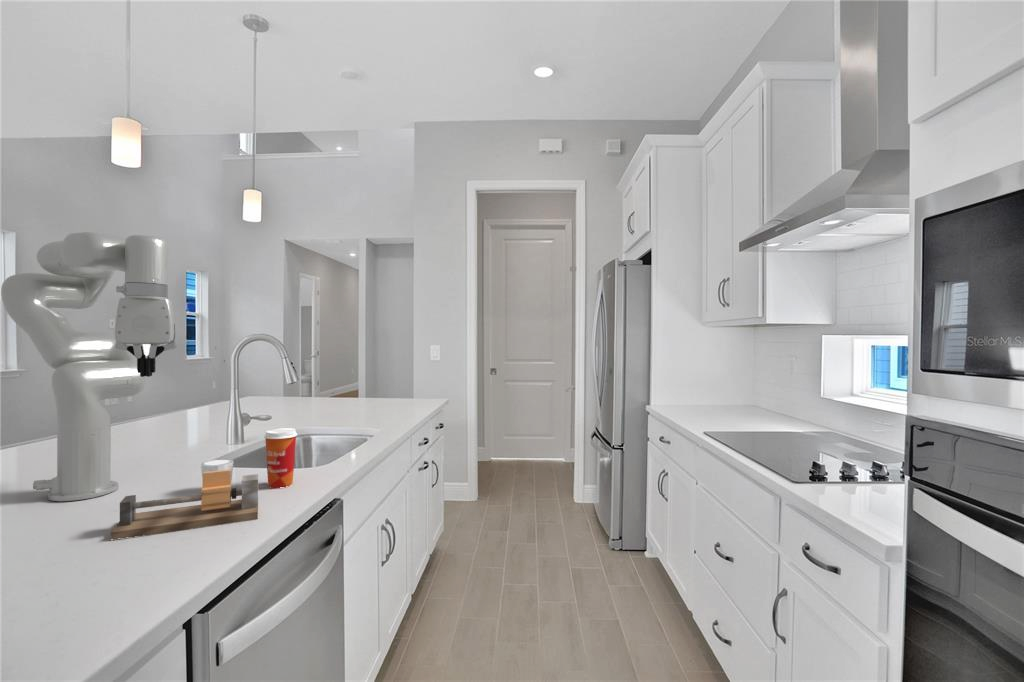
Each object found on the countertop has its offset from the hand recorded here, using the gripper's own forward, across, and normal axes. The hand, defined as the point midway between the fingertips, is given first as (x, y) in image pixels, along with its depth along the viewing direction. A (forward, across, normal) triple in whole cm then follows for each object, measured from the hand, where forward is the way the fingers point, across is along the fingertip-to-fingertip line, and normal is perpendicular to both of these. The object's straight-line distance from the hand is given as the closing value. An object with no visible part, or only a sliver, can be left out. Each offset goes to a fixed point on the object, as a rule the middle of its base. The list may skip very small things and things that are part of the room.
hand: (146, 376), depth 105 cm
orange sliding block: (+27, +14, -13) cm, 33 cm away
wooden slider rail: (+29, +10, -13) cm, 33 cm away
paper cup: (+29, +27, +5) cm, 40 cm away
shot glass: (+29, +13, +7) cm, 33 cm away
